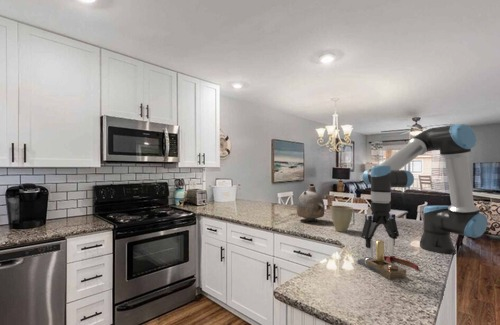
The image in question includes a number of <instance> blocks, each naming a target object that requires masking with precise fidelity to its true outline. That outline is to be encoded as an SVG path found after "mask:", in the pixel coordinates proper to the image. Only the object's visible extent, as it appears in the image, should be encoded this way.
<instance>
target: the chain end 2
mask: <svg viewBox="0 0 500 325" xmlns="http://www.w3.org/2000/svg"><path fill="white" fill-rule="evenodd" d="M390 262H391V261H390ZM390 262H387V261H385V260H384V265H378V264H376V258H373V259H371V260H366V264H367V265H369V266H371V267H373V268H375V269H377V270H379V271H380V274H379V275H380V276H382V277H384V278H385V279H388V280H389V281H391V280H399V279H405V278H407V269H405V268H403V267H401V266H399V265H396V264H394V263H392V262H391V263H390Z"/></svg>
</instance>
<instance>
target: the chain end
mask: <svg viewBox="0 0 500 325" xmlns="http://www.w3.org/2000/svg"><path fill="white" fill-rule="evenodd" d="M371 259H374V258H373V257H371V256H365V257H363V258H360V259H357V264H359V265H361V266H362V265H363V266H362V267H365V268H366V269H368V270H370V271H372V272H374V273H376V274H378V275H380V271H379V270H377V269H375V268H373V267H371V266H369V265H367V264H366V260H371Z"/></svg>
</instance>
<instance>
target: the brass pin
mask: <svg viewBox="0 0 500 325" xmlns="http://www.w3.org/2000/svg"><path fill="white" fill-rule="evenodd" d="M384 254H385V241H384V240H380V239H377V240H375V259H376V264H378V265H384Z"/></svg>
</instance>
